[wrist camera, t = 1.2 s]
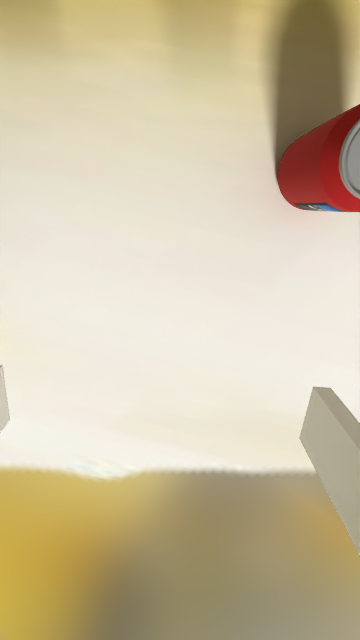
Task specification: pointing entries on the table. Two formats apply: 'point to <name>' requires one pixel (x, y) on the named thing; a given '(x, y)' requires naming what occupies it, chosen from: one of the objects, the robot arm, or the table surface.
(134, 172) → the table surface
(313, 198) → the beverage can
